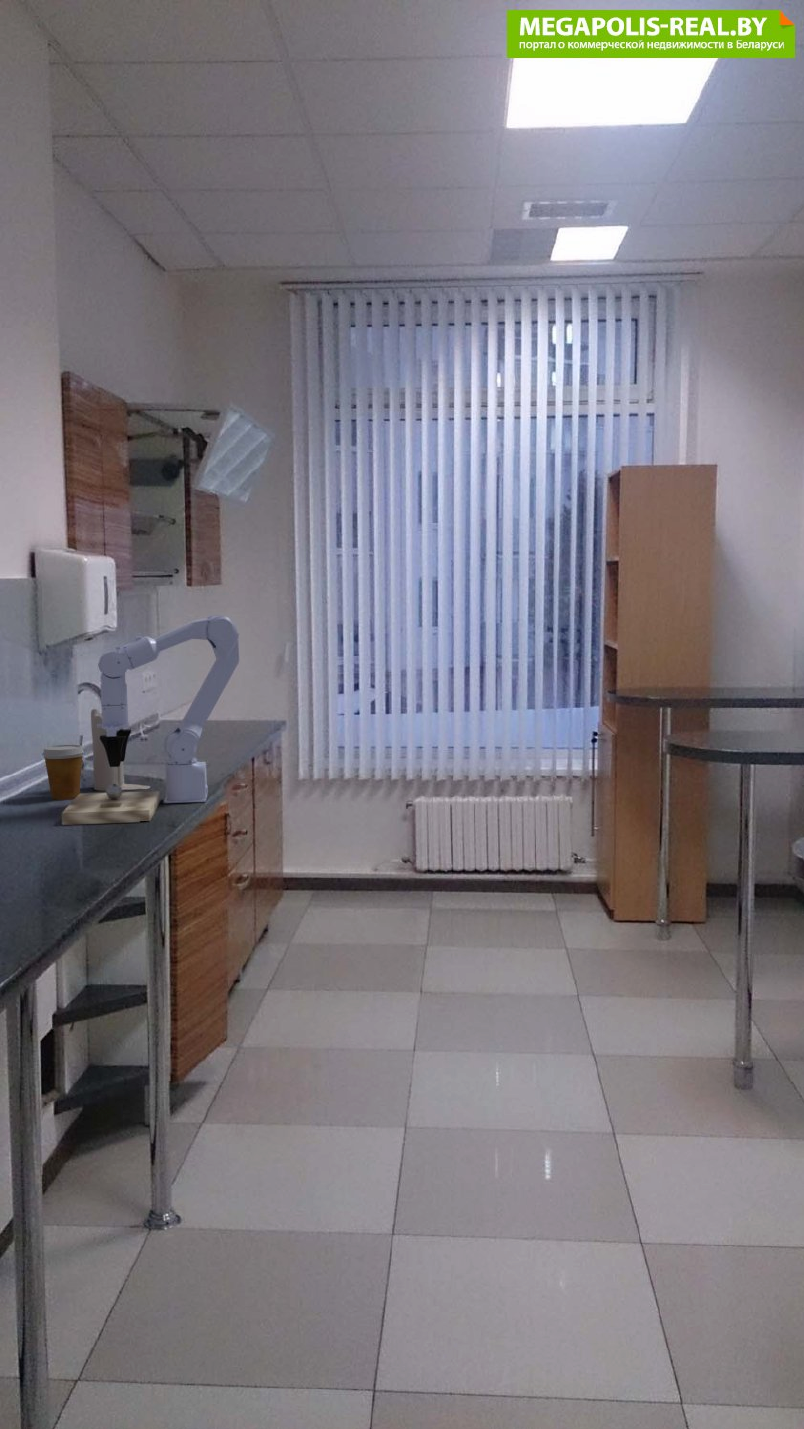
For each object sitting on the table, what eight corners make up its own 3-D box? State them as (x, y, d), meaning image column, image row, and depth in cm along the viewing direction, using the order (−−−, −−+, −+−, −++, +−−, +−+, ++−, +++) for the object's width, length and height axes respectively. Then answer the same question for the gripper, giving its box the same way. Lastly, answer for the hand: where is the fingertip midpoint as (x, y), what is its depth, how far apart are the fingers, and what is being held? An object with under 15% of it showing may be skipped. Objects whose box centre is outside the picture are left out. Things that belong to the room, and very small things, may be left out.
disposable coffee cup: (92, 793, 274) (90, 744, 272) (77, 801, 264) (74, 750, 263) (54, 793, 275) (51, 744, 273) (37, 801, 265) (35, 750, 264)
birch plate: (160, 801, 262) (159, 791, 262) (149, 821, 240) (149, 809, 240) (80, 804, 260) (79, 793, 260) (62, 824, 238) (61, 813, 238)
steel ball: (123, 797, 254) (122, 782, 254) (121, 800, 251) (120, 784, 250) (107, 798, 254) (106, 782, 253) (105, 801, 250) (104, 785, 250)
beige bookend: (147, 790, 277) (143, 708, 274) (90, 791, 277) (86, 709, 275) (154, 785, 284) (151, 705, 282) (99, 785, 284) (95, 706, 282)
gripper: (101, 701, 263) (103, 759, 265) (91, 708, 249) (94, 769, 250) (132, 700, 264) (134, 758, 265) (124, 707, 250) (126, 768, 251)
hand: (117, 764), depth 258 cm, fingers open, 7 cm apart
